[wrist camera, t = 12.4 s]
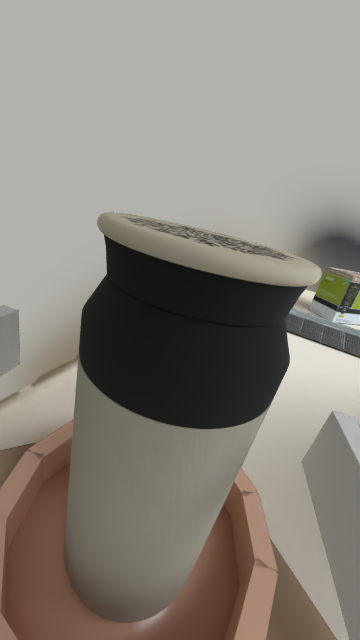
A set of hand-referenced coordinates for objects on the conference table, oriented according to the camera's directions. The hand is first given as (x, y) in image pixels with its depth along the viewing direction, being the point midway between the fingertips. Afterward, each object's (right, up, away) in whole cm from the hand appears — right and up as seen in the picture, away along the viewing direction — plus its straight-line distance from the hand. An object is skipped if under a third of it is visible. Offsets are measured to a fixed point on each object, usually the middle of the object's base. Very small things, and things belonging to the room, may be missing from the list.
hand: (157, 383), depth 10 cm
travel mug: (-2, -11, +5) cm, 12 cm away
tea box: (+51, +3, +71) cm, 87 cm away
